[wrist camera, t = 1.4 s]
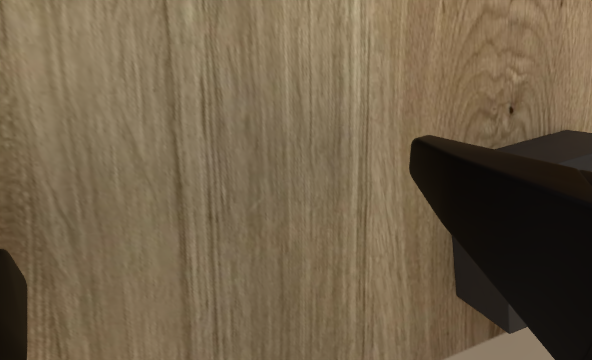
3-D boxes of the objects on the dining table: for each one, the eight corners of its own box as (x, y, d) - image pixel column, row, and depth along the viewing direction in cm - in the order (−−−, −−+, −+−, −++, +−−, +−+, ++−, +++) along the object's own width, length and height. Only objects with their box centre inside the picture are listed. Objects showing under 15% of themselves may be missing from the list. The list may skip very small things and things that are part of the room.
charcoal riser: (566, 255, 33) (632, 284, 28) (456, 295, 31) (509, 334, 26) (566, 129, 30) (640, 138, 26) (446, 162, 28) (503, 179, 23)
